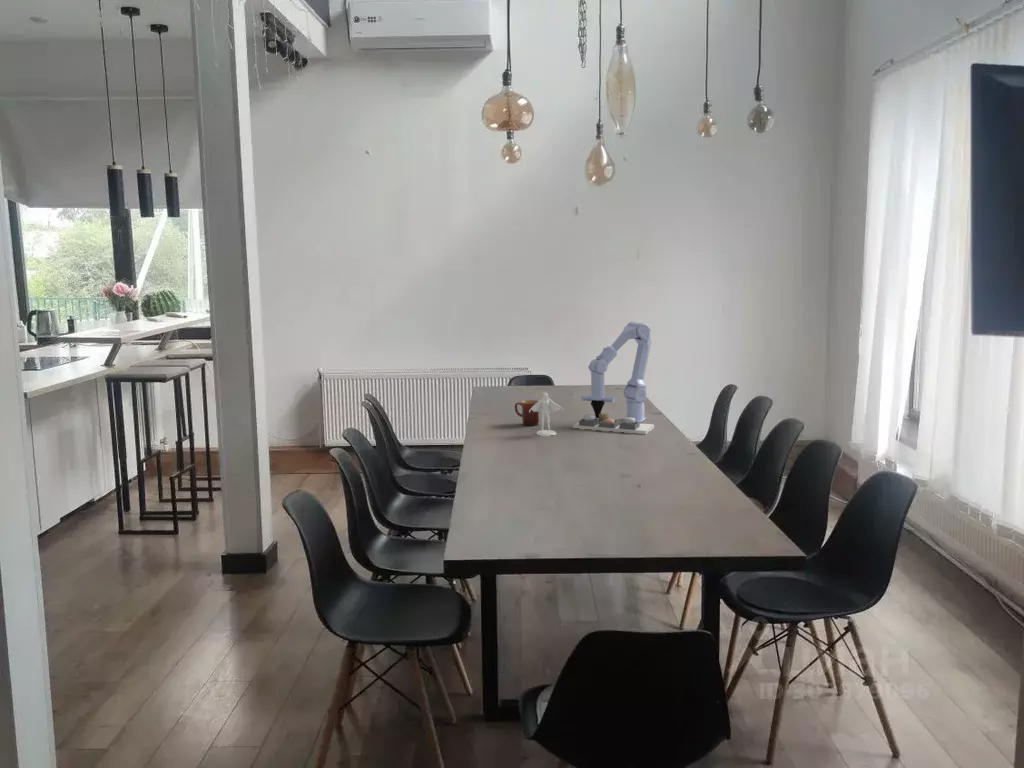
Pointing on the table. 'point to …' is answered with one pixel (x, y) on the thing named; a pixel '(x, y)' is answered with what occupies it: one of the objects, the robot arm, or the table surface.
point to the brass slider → (603, 416)
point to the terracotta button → (609, 421)
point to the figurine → (546, 412)
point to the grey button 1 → (589, 417)
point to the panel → (614, 426)
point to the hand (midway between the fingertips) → (597, 417)
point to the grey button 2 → (629, 420)
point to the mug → (527, 417)
